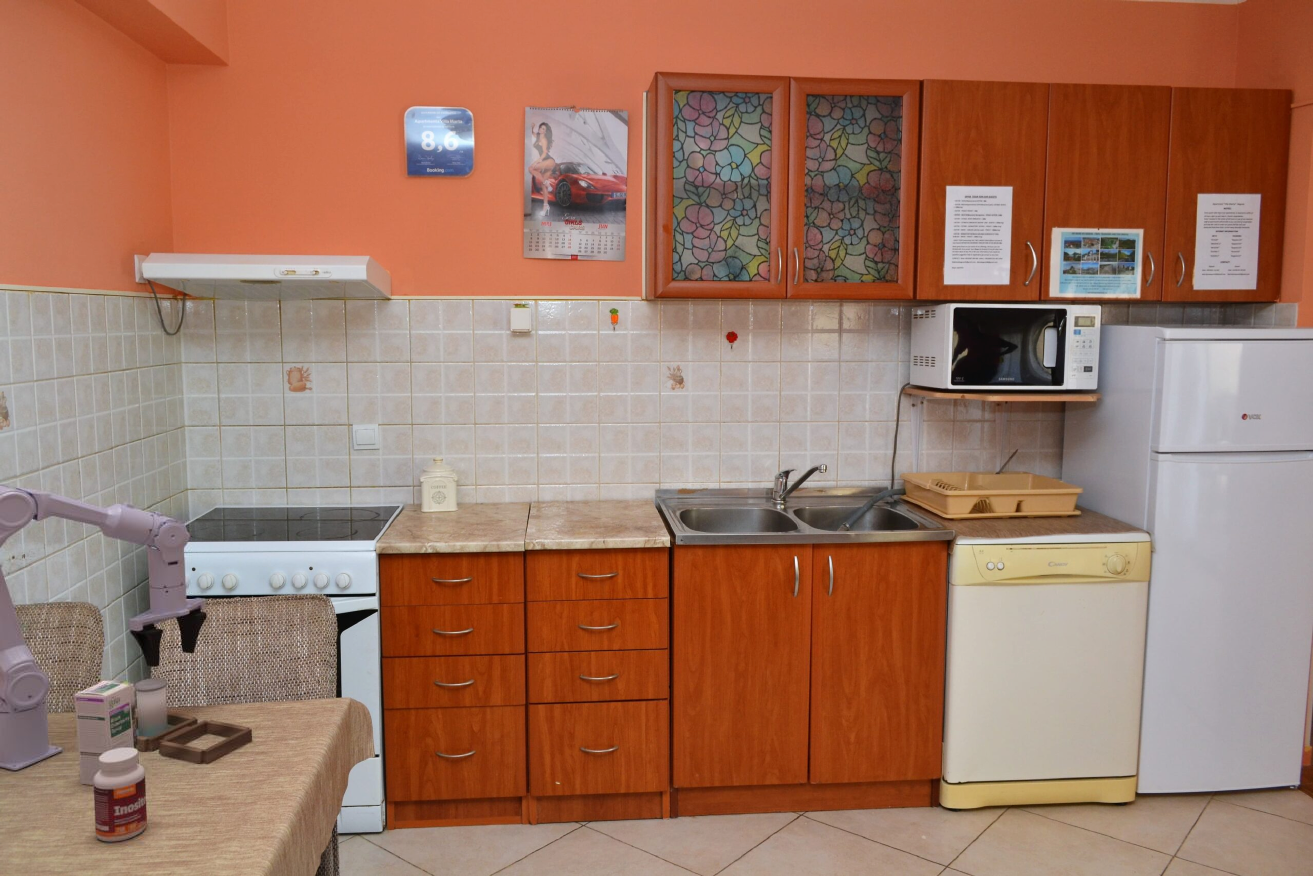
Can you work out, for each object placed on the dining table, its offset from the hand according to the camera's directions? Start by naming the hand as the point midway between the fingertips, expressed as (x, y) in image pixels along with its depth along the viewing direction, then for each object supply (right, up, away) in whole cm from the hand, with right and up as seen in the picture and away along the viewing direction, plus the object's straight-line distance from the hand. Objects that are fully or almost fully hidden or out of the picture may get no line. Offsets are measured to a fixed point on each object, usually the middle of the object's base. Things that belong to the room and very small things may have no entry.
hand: (171, 659), depth 170 cm
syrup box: (+3, -13, -23) cm, 27 cm away
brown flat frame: (+6, -12, -10) cm, 16 cm away
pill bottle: (+13, -15, -39) cm, 44 cm away
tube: (+1, -11, -8) cm, 14 cm away
